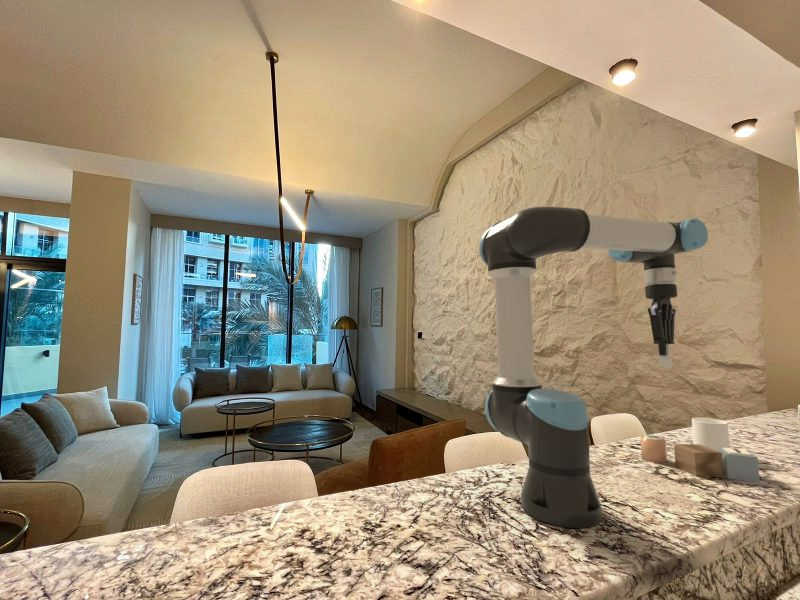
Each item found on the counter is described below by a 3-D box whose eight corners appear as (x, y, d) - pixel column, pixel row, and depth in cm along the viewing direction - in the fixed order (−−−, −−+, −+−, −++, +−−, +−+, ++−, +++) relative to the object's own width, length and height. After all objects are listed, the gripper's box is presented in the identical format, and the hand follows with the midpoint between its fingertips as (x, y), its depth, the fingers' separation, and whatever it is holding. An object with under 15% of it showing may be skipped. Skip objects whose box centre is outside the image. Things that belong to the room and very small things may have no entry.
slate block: (728, 478, 94) (726, 451, 94) (719, 470, 99) (718, 445, 100) (759, 482, 91) (757, 455, 92) (749, 474, 96) (747, 448, 97)
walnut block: (696, 477, 95) (694, 452, 95) (675, 467, 102) (674, 444, 102) (723, 477, 95) (721, 452, 95) (701, 467, 102) (699, 444, 102)
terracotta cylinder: (647, 462, 105) (646, 438, 106) (637, 455, 111) (636, 433, 111) (671, 464, 104) (669, 439, 104) (660, 457, 110) (659, 434, 110)
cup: (688, 453, 113) (686, 419, 114) (708, 448, 118) (706, 415, 119) (722, 462, 105) (719, 425, 106) (742, 455, 111) (739, 420, 112)
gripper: (666, 281, 102) (671, 369, 99) (684, 284, 109) (690, 367, 107) (635, 284, 108) (640, 367, 106) (655, 287, 115) (660, 365, 113)
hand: (665, 367), depth 106 cm, fingers closed
